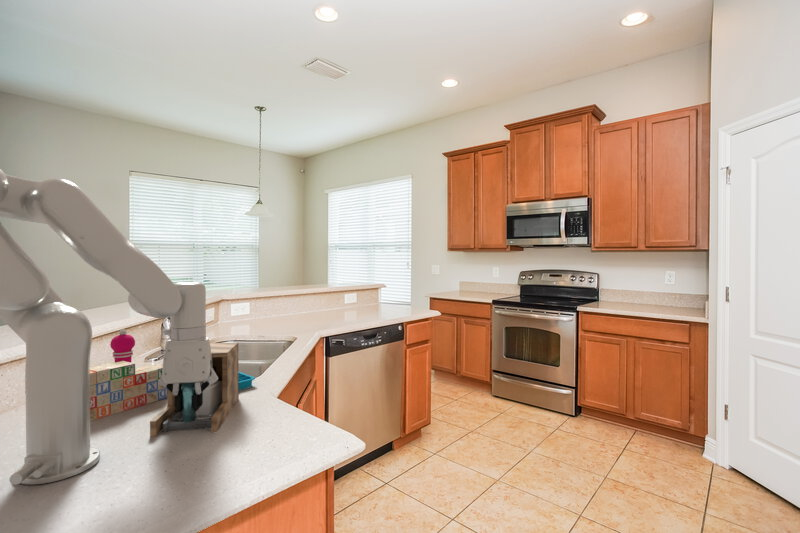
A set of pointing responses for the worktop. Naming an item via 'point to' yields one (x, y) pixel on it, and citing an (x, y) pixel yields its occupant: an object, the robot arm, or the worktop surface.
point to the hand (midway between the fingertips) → (188, 408)
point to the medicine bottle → (211, 398)
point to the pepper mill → (122, 346)
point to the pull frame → (187, 413)
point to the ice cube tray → (245, 380)
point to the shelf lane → (226, 372)
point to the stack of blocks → (123, 387)
